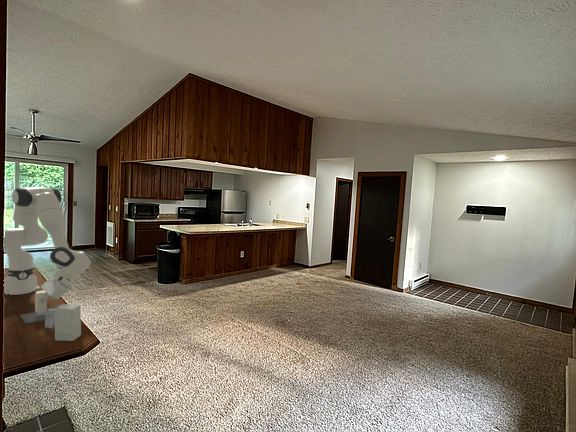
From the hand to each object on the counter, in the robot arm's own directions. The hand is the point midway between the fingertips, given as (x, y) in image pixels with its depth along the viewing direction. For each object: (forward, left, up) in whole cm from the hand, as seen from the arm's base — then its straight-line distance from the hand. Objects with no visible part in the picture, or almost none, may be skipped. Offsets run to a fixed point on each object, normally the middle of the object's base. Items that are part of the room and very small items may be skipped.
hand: (39, 301), depth 157 cm
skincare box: (+33, +4, -9) cm, 34 cm away
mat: (0, +1, -8) cm, 8 cm away
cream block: (0, +1, -5) cm, 5 cm away
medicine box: (+15, +4, -9) cm, 18 cm away
